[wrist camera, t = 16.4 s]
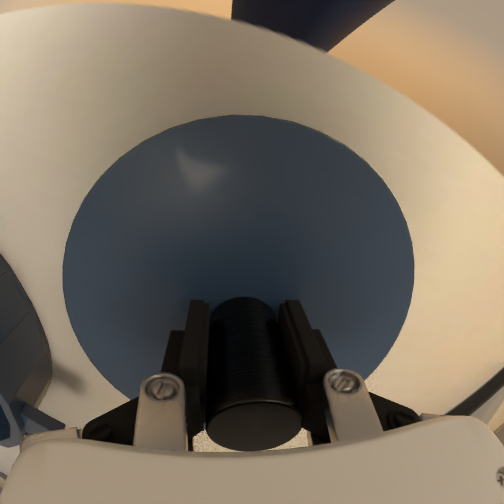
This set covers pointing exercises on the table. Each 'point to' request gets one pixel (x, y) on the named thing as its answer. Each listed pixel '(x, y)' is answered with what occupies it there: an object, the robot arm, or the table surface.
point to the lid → (238, 263)
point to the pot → (21, 364)
